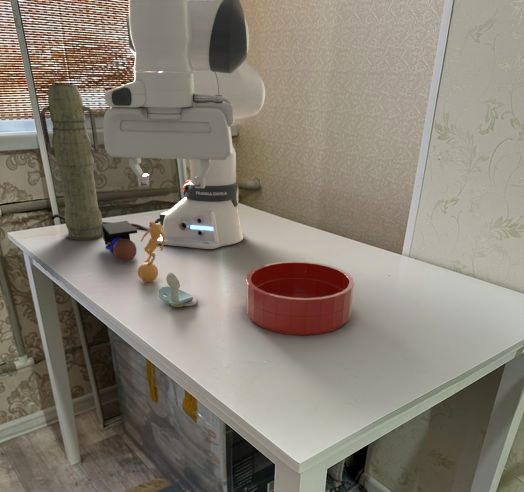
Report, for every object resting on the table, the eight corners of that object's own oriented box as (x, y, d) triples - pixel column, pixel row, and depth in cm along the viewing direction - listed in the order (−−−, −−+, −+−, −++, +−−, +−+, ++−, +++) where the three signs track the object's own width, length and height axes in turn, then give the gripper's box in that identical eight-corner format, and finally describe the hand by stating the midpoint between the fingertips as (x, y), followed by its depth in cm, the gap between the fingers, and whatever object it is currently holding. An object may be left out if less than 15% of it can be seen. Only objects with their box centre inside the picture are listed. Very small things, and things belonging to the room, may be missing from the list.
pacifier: (181, 294, 98) (155, 301, 95) (180, 263, 96) (153, 269, 92) (204, 305, 94) (178, 313, 90) (204, 273, 91) (176, 280, 87)
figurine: (130, 277, 105) (124, 220, 100) (156, 271, 109) (151, 215, 103) (150, 289, 100) (144, 229, 94) (176, 282, 103) (172, 224, 98)
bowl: (240, 333, 84) (240, 297, 81) (251, 291, 100) (251, 259, 97) (354, 338, 83) (358, 302, 79) (346, 295, 99) (349, 263, 96)
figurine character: (101, 252, 124) (113, 264, 111) (96, 221, 121) (108, 230, 109) (129, 249, 127) (143, 260, 114) (124, 218, 124) (139, 226, 111)
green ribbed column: (60, 233, 133) (32, 83, 117) (105, 228, 138) (86, 83, 121) (64, 242, 126) (36, 84, 110) (112, 237, 131) (92, 84, 114)
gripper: (235, 94, 80) (236, 185, 86) (108, 92, 81) (119, 181, 88) (230, 95, 74) (231, 192, 81) (93, 93, 75) (106, 189, 82)
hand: (172, 187), depth 84 cm, fingers open, 8 cm apart
